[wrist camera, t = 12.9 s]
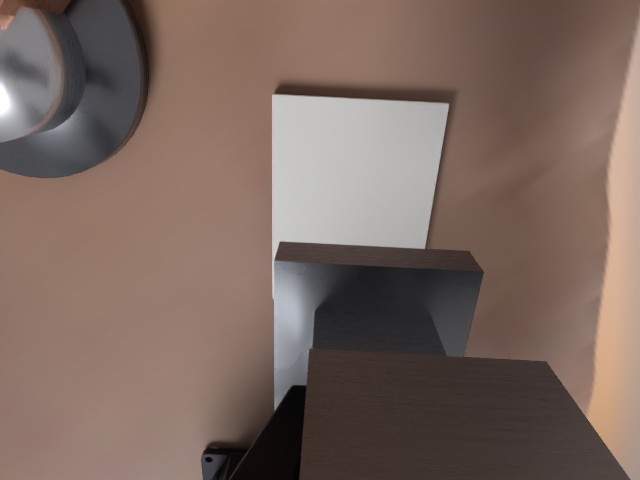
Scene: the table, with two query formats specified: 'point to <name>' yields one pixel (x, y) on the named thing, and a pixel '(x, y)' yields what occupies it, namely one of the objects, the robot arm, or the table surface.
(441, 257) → the grey stepped block
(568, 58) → the table surface
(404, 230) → the mat
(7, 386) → the table surface
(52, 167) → the chuck base
